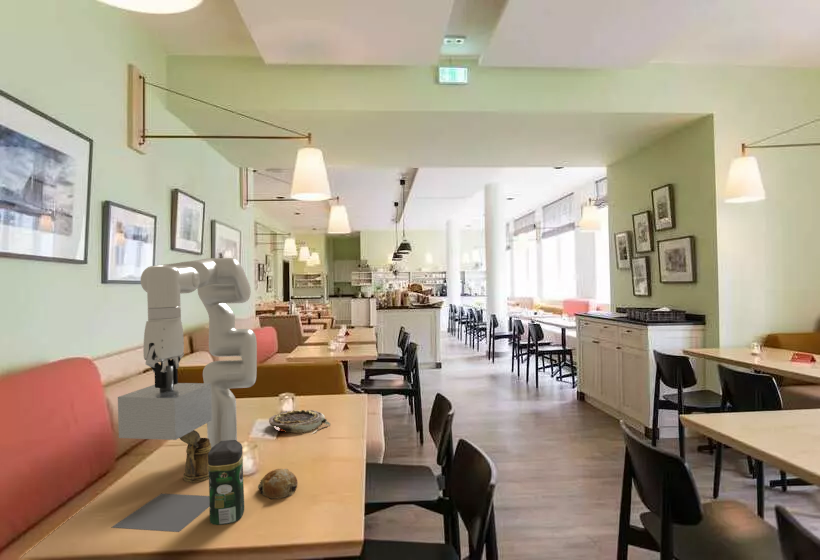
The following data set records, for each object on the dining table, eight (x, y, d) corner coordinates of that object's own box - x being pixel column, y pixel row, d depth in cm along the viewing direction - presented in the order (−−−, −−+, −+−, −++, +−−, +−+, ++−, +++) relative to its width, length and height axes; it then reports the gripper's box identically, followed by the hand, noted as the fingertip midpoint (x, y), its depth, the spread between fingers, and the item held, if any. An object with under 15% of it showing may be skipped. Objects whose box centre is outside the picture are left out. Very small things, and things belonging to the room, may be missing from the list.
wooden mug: (170, 491, 134) (168, 428, 134) (191, 472, 148) (189, 414, 148) (201, 490, 134) (200, 427, 134) (219, 471, 148) (218, 413, 148)
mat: (111, 529, 114) (111, 527, 114) (161, 495, 132) (161, 493, 132) (179, 534, 111) (179, 531, 111) (221, 498, 129) (221, 496, 129)
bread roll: (280, 514, 127) (291, 488, 126) (248, 495, 129) (259, 470, 128) (296, 497, 137) (307, 473, 136) (266, 480, 139) (277, 456, 138)
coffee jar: (214, 510, 123) (212, 438, 123) (246, 506, 124) (244, 436, 124) (205, 529, 113) (203, 452, 113) (240, 525, 115) (238, 449, 115)
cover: (118, 437, 115) (117, 372, 115) (160, 418, 130) (159, 361, 130) (175, 439, 113) (173, 373, 113) (211, 420, 128) (210, 361, 128)
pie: (294, 442, 174) (294, 429, 174) (245, 432, 188) (244, 419, 188) (343, 422, 198) (343, 410, 198) (296, 414, 212) (296, 403, 212)
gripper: (172, 311, 130) (173, 378, 130) (127, 317, 114) (129, 393, 114) (197, 311, 129) (199, 379, 129) (155, 317, 113) (158, 394, 113)
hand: (166, 385), depth 122 cm, fingers closed on cover, 3 cm apart
